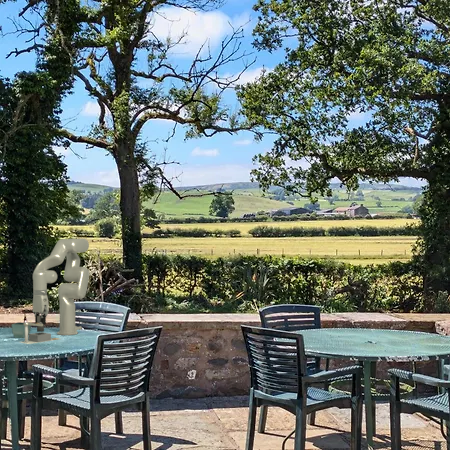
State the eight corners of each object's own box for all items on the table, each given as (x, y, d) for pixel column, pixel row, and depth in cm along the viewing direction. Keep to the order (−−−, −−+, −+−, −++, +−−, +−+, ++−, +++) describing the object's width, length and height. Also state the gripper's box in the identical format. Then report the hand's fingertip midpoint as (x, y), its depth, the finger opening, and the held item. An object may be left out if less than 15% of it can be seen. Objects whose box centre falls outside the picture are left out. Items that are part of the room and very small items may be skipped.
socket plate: (43, 339, 414) (43, 322, 414) (53, 341, 407) (53, 323, 407) (18, 343, 401) (18, 325, 401) (28, 345, 394) (28, 326, 394)
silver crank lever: (22, 325, 398) (22, 321, 398) (26, 324, 401) (26, 321, 401) (40, 326, 393) (40, 323, 393) (44, 326, 396) (44, 322, 396)
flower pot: (24, 339, 413) (24, 324, 413) (11, 339, 415) (11, 324, 415) (31, 337, 422) (31, 322, 422) (18, 337, 424) (18, 322, 424)
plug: (41, 330, 410) (41, 315, 410) (46, 331, 407) (46, 315, 407) (34, 331, 406) (34, 315, 406) (39, 332, 403) (39, 316, 403)
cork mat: (55, 338, 416) (55, 337, 416) (61, 339, 412) (61, 338, 412) (48, 339, 412) (48, 338, 412) (54, 340, 409) (54, 339, 409)
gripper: (54, 293, 404) (54, 324, 404) (37, 291, 415) (37, 322, 415) (43, 294, 398) (43, 326, 398) (26, 292, 409) (26, 323, 409)
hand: (40, 323), depth 407 cm, fingers closed on plug, 4 cm apart
